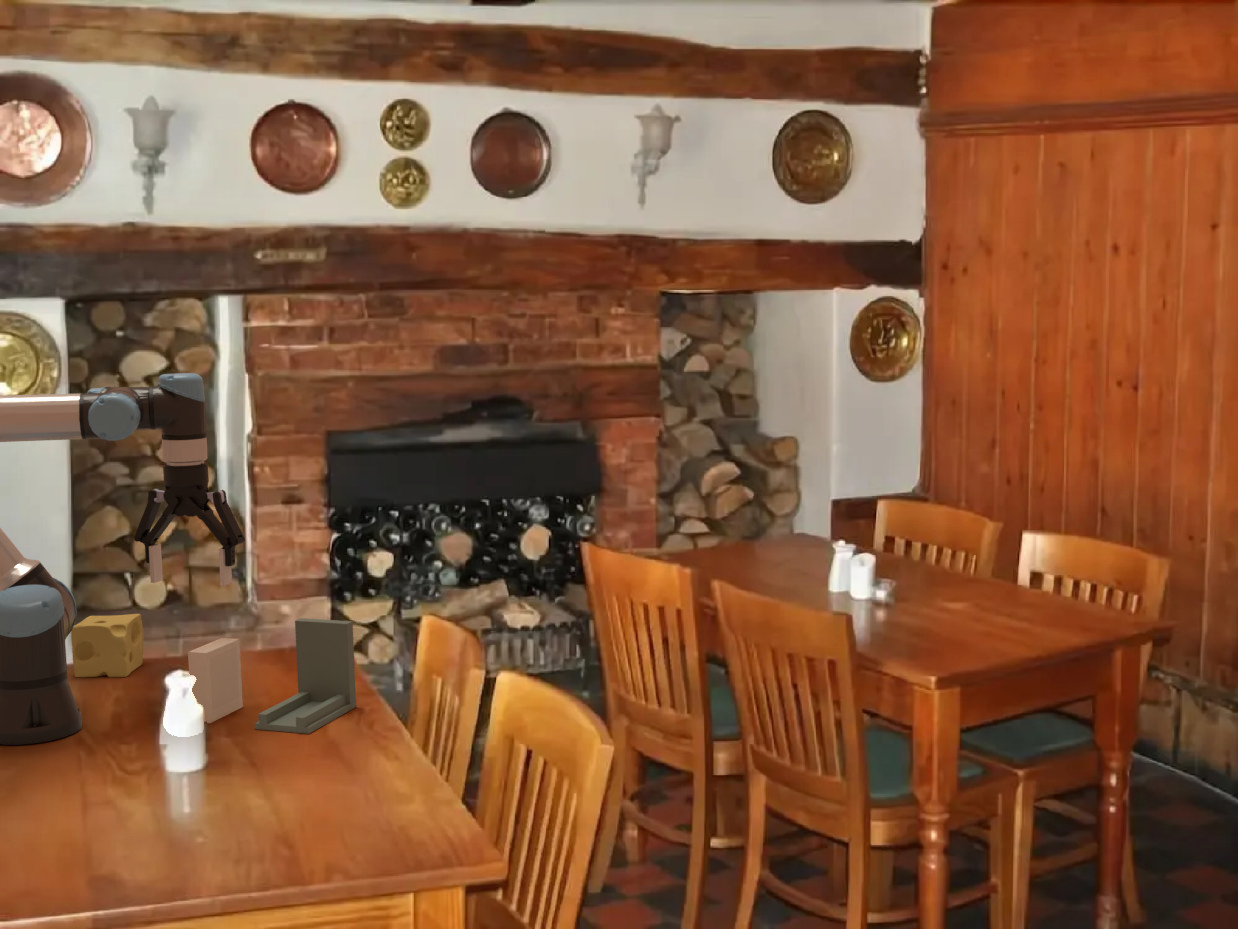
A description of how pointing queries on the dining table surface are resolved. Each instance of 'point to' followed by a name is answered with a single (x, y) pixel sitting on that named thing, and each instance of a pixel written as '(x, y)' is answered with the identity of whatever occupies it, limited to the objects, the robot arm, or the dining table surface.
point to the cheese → (107, 645)
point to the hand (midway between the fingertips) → (191, 583)
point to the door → (217, 677)
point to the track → (317, 678)
